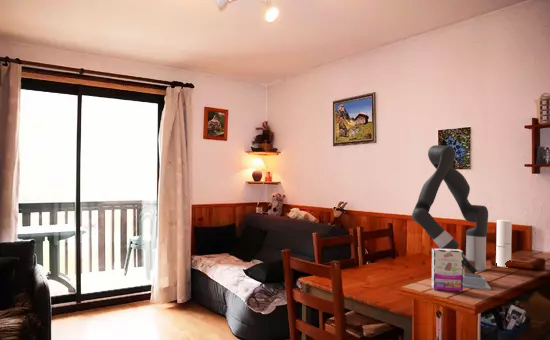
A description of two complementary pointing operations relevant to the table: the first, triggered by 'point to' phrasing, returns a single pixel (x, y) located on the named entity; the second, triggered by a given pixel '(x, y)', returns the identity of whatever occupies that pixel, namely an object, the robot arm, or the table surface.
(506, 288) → the table surface
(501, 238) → the cylindrical container
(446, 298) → the table surface
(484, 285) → the socket stand
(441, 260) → the candy bar box
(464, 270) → the walnut block
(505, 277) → the table surface
